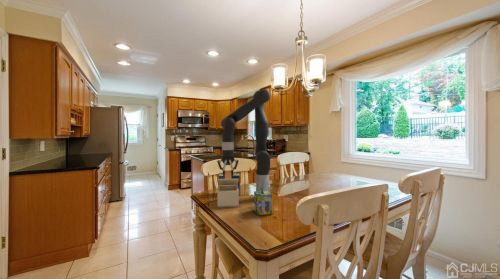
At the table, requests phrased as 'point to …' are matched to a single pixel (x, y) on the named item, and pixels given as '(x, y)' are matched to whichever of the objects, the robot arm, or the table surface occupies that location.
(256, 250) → the table surface
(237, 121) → the robot arm
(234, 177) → the protein box
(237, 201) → the carton
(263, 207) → the chalk box
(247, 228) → the table surface
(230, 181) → the carton lid
